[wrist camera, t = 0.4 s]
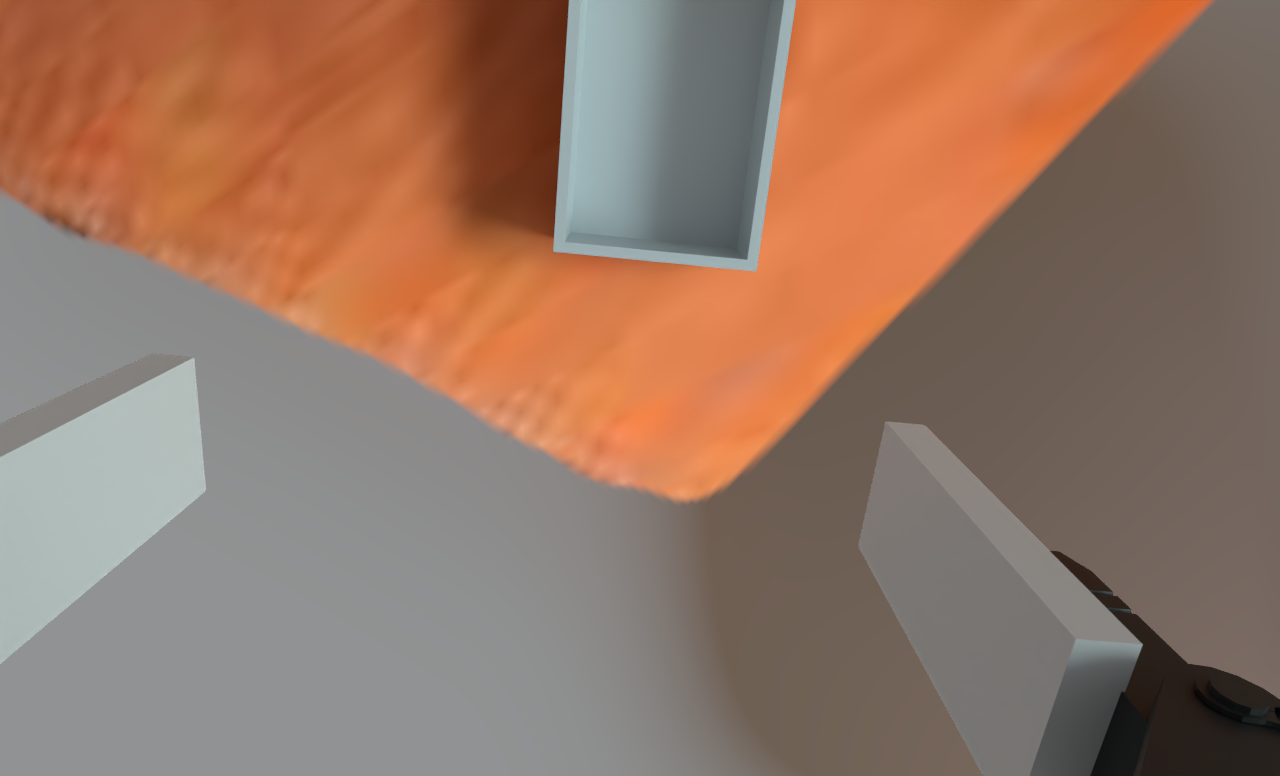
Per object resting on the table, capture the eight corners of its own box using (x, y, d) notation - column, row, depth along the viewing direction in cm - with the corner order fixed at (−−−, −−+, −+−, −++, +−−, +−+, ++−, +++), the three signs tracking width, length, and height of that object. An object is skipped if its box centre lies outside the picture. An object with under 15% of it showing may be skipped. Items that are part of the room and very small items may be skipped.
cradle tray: (579, -39, 36) (572, -63, 31) (781, -16, 36) (801, -37, 32) (561, 240, 40) (553, 251, 35) (743, 257, 40) (756, 271, 36)
